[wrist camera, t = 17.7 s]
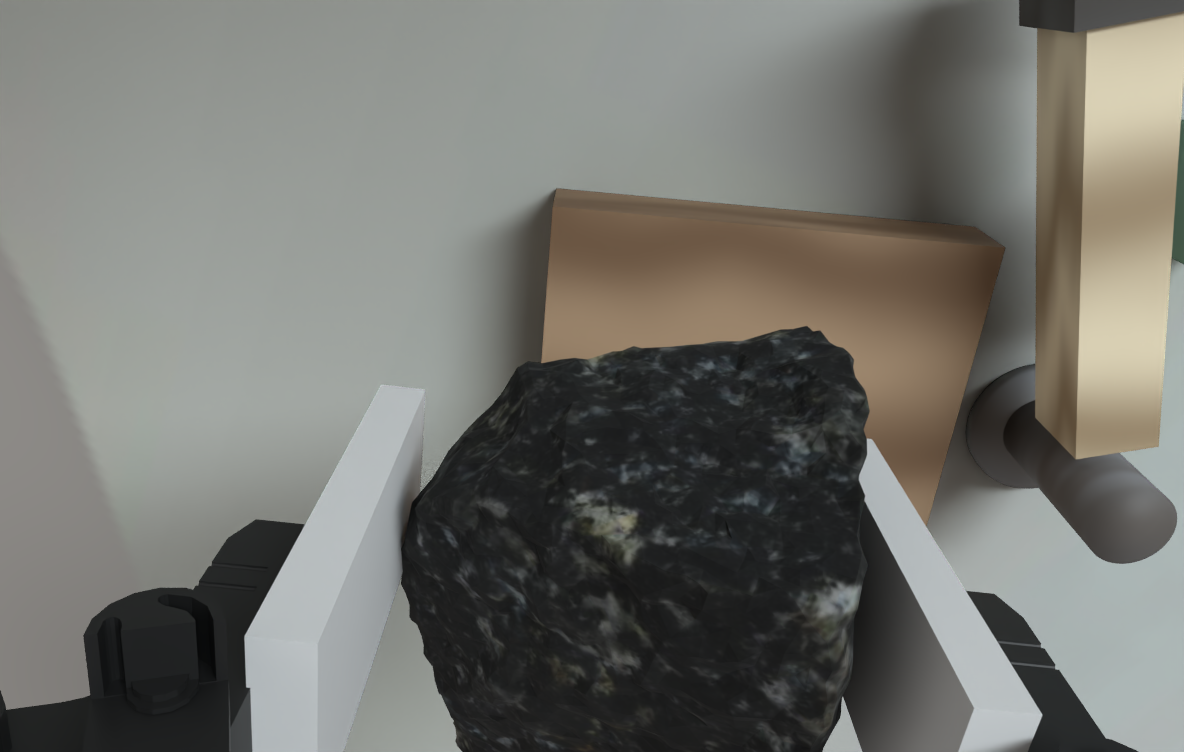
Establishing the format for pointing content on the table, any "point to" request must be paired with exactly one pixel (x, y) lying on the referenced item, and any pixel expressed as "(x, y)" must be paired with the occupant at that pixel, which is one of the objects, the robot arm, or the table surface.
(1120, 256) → the leg
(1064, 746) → the robot arm
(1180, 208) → the pale green block
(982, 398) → the seat
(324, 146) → the table surface
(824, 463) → the rock
